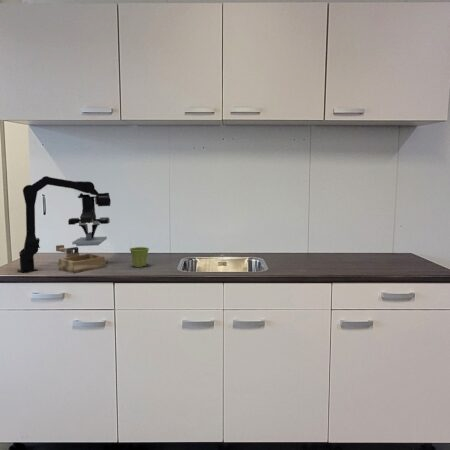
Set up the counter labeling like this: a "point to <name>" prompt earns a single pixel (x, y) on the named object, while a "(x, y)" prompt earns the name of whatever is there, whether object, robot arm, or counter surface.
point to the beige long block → (62, 249)
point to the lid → (89, 240)
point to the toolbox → (80, 261)
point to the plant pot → (139, 256)
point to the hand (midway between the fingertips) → (90, 238)
